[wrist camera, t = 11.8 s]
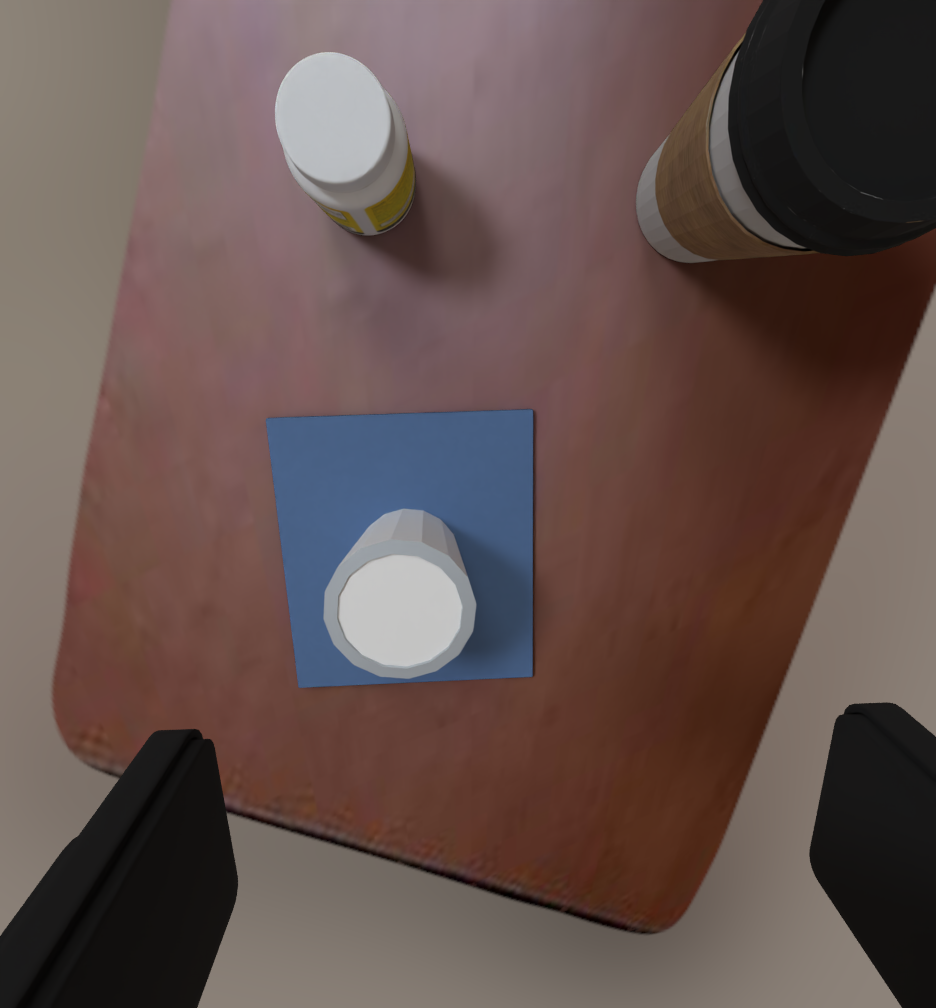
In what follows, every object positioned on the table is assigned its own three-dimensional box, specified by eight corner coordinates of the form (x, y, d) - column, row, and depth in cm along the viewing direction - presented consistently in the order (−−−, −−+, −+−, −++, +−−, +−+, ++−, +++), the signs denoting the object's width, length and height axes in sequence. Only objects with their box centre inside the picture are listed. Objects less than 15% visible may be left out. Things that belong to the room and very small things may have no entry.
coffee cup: (783, 271, 30) (1103, 206, 15) (620, 304, 30) (784, 271, 15) (775, 83, 27) (1142, -201, 13) (598, 120, 28) (767, -120, 13)
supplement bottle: (411, 124, 27) (398, 33, 19) (420, 233, 29) (411, 191, 21) (309, 130, 27) (251, 41, 19) (322, 239, 29) (274, 200, 20)
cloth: (267, 417, 31) (265, 418, 30) (532, 409, 31) (533, 409, 31) (299, 684, 35) (298, 688, 35) (531, 673, 36) (532, 677, 35)
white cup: (324, 532, 32) (292, 584, 25) (433, 475, 32) (431, 512, 25) (386, 631, 34) (371, 703, 27) (491, 579, 33) (502, 640, 27)
